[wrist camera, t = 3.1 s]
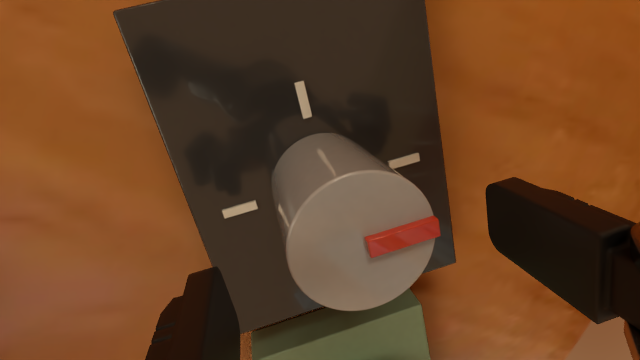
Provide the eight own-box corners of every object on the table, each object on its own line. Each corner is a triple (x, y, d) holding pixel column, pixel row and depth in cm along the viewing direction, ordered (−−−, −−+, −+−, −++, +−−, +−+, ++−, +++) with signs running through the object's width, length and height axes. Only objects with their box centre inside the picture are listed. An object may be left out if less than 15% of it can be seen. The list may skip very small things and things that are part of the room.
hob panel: (132, 18, 14) (109, 10, 12) (392, -41, 16) (420, -60, 13) (239, 302, 19) (239, 337, 17) (432, 240, 20) (458, 264, 18)
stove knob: (286, 244, 16) (309, 338, 11) (258, 149, 14) (267, 201, 9) (381, 215, 16) (450, 291, 11) (363, 120, 15) (432, 153, 10)
